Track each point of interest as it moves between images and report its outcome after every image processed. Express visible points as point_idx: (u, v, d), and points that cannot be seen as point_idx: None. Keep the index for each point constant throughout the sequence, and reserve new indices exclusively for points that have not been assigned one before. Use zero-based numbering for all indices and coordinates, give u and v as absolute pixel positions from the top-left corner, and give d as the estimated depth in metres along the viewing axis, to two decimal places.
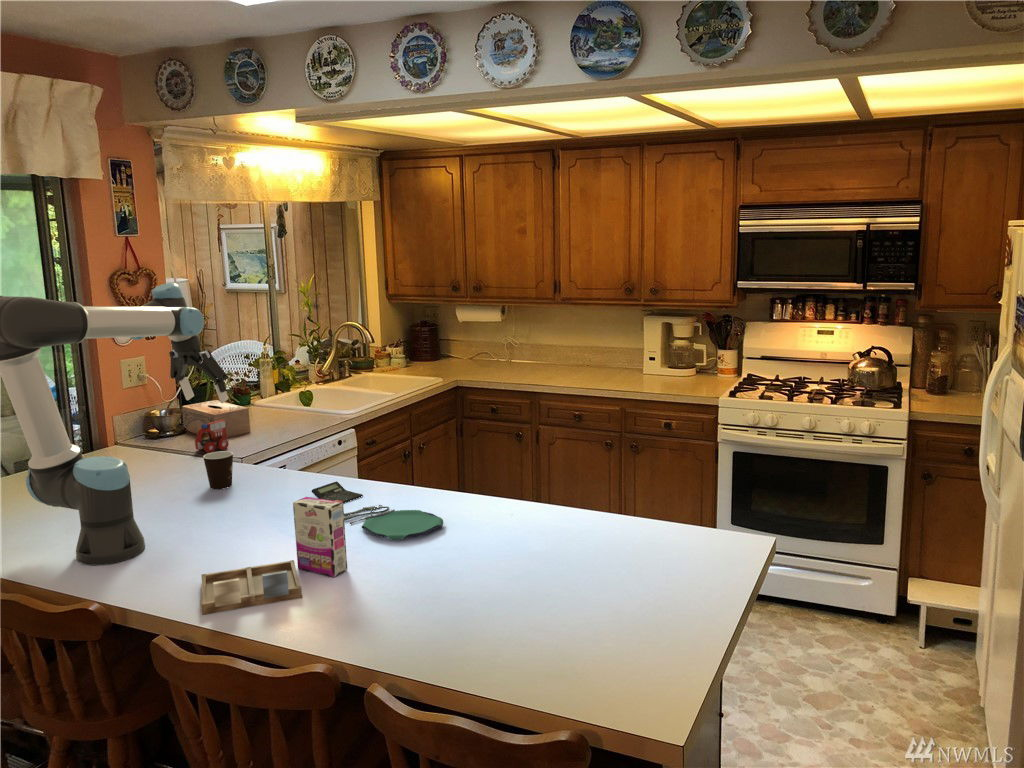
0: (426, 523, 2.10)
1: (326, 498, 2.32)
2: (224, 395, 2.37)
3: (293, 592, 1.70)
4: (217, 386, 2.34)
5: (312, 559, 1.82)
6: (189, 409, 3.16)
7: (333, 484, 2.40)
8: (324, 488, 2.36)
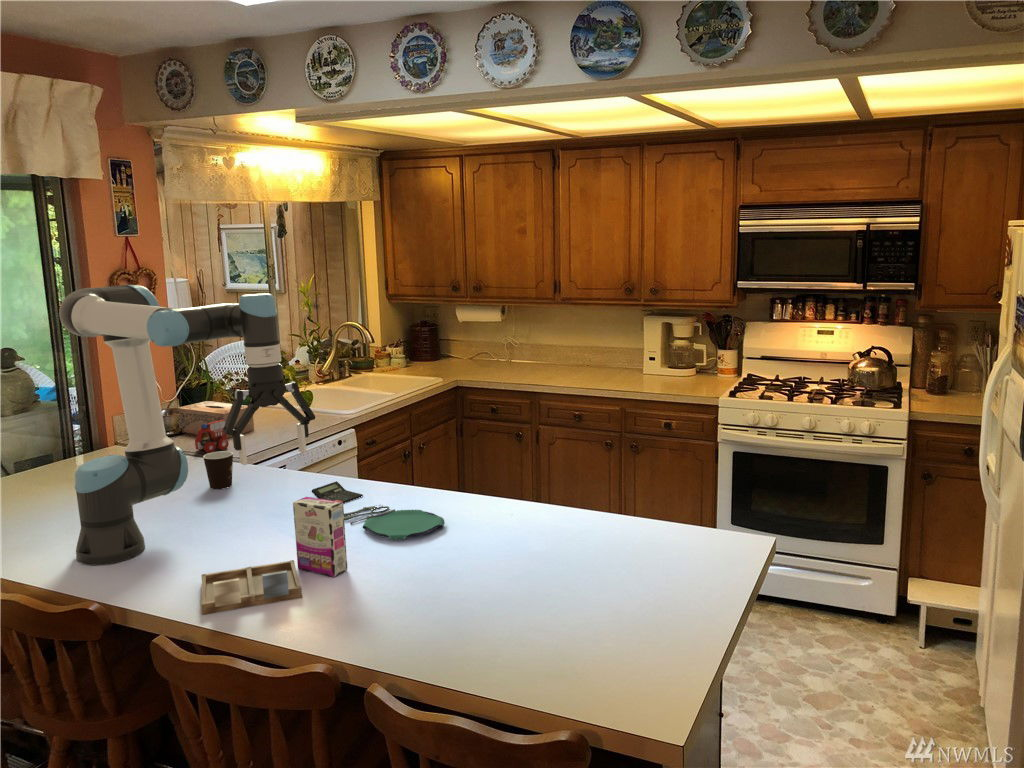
0: (427, 523, 2.10)
1: (326, 498, 2.33)
2: (241, 456, 1.75)
3: (293, 592, 1.70)
4: None
5: (312, 559, 1.82)
6: (188, 410, 3.14)
7: (333, 484, 2.40)
8: (324, 488, 2.37)
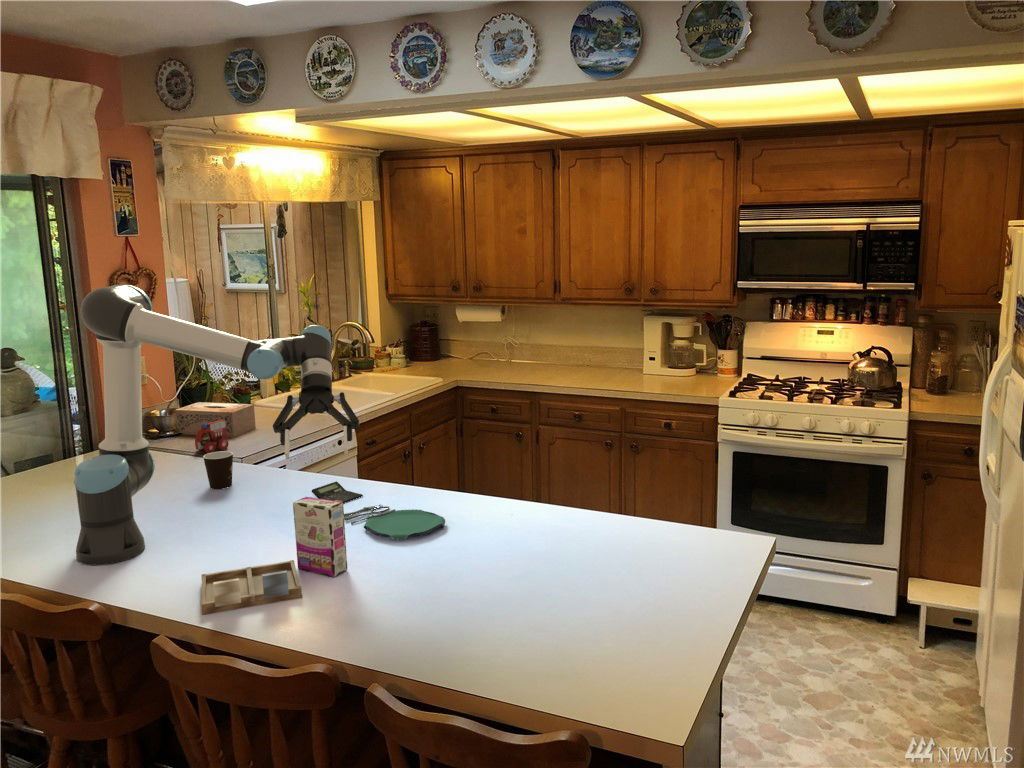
0: (428, 522, 2.10)
1: (326, 498, 2.33)
2: None
3: (293, 592, 1.70)
4: None
5: (312, 559, 1.82)
6: (188, 411, 3.12)
7: (333, 484, 2.40)
8: (324, 488, 2.37)
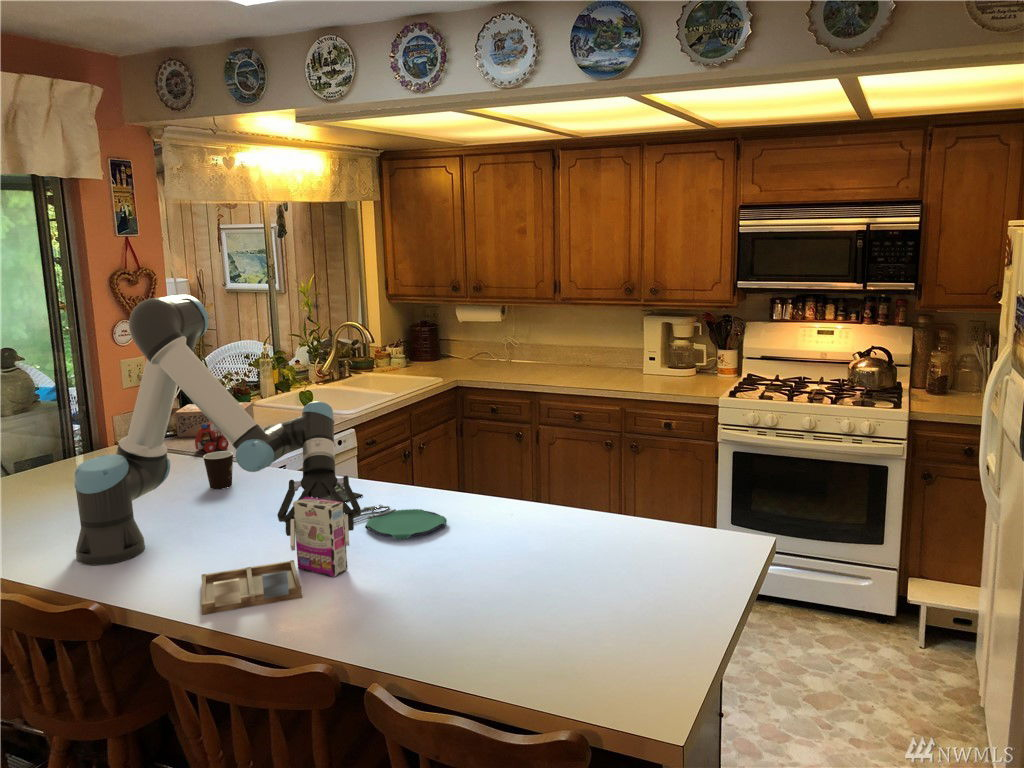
0: (429, 522, 2.10)
1: (326, 498, 2.33)
2: None
3: (293, 592, 1.70)
4: None
5: (312, 559, 1.82)
6: (191, 413, 3.10)
7: None
8: None
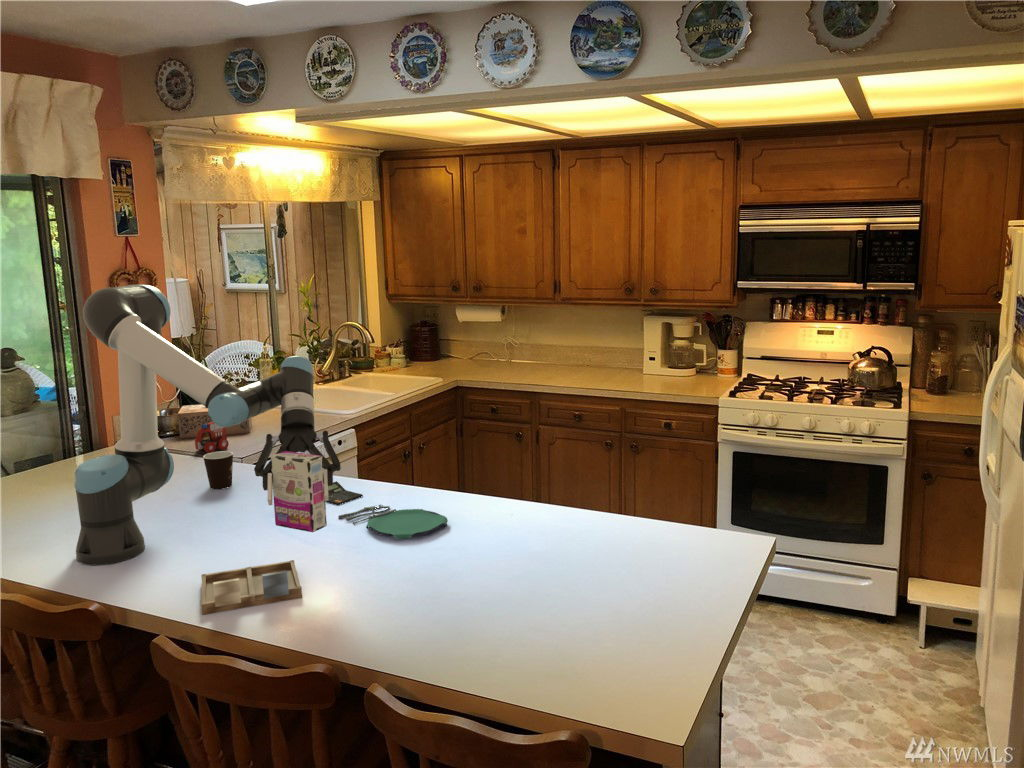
0: (430, 522, 2.11)
1: None
2: None
3: (293, 592, 1.70)
4: None
5: (290, 514, 1.77)
6: (195, 413, 3.09)
7: (333, 484, 2.40)
8: None
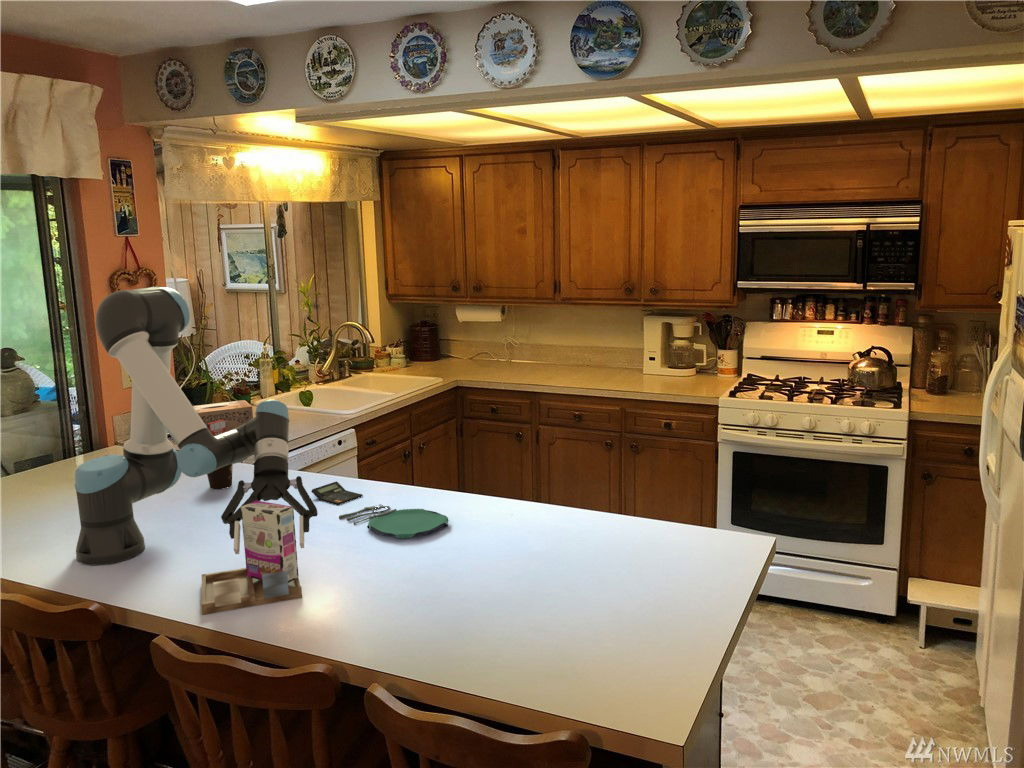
0: (431, 521, 2.11)
1: (326, 498, 2.33)
2: None
3: (293, 592, 1.70)
4: None
5: (261, 566, 1.73)
6: (200, 413, 3.08)
7: (333, 484, 2.40)
8: (324, 488, 2.37)
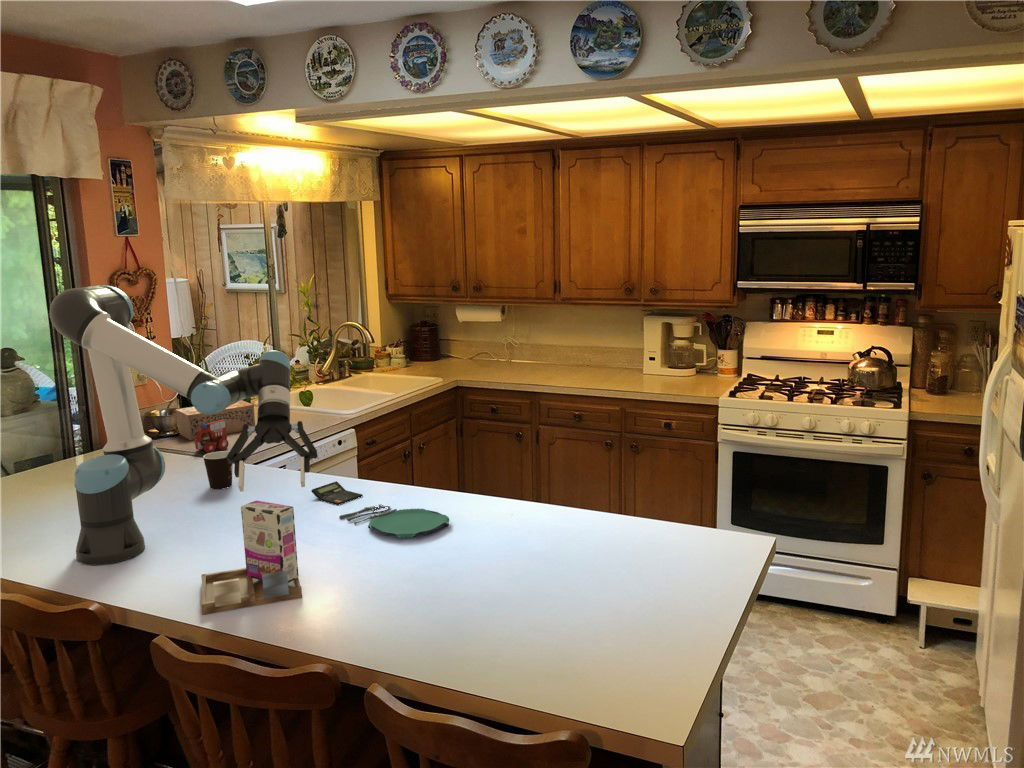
0: (432, 521, 2.11)
1: (326, 498, 2.33)
2: None
3: (293, 592, 1.70)
4: None
5: (261, 566, 1.73)
6: None
7: (332, 484, 2.40)
8: (324, 488, 2.37)
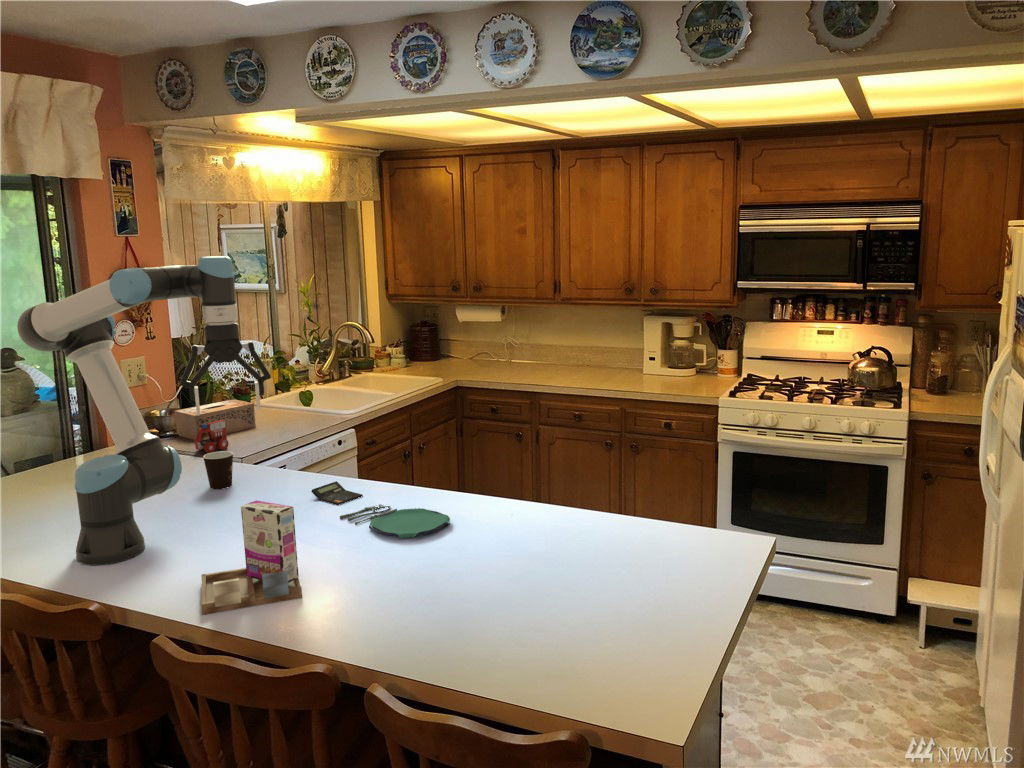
0: (433, 521, 2.11)
1: (326, 498, 2.33)
2: (196, 407, 1.88)
3: (293, 592, 1.70)
4: None
5: (261, 566, 1.73)
6: (209, 413, 3.08)
7: (332, 484, 2.40)
8: (324, 488, 2.37)
